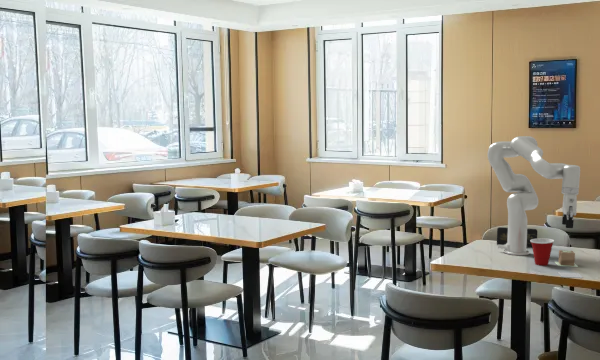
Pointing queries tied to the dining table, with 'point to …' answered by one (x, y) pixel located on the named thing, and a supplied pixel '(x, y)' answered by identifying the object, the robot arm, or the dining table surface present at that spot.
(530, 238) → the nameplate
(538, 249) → the plastic cup
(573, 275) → the grey pad
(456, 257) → the dining table surface
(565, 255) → the letter block
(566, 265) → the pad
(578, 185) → the robot arm
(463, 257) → the dining table surface
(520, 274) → the dining table surface
